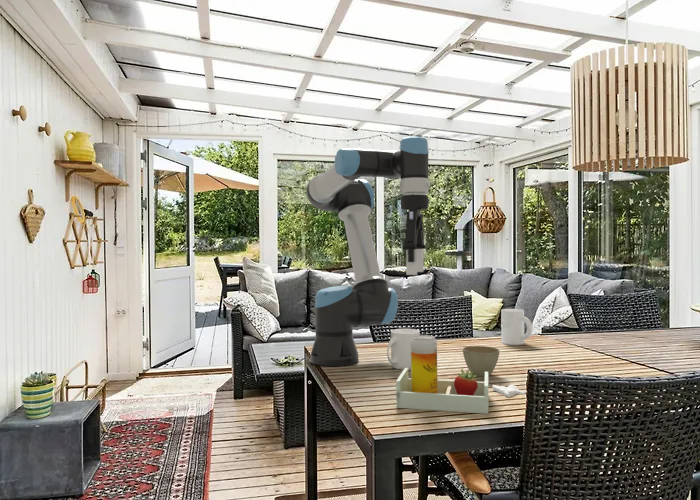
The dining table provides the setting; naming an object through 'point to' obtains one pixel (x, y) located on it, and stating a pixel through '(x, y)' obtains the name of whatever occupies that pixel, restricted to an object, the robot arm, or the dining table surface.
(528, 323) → the mug
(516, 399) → the dining table surface
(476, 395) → the crate
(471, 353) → the flower pot
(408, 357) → the mug
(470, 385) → the fruit
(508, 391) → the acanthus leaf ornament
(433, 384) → the beer can
